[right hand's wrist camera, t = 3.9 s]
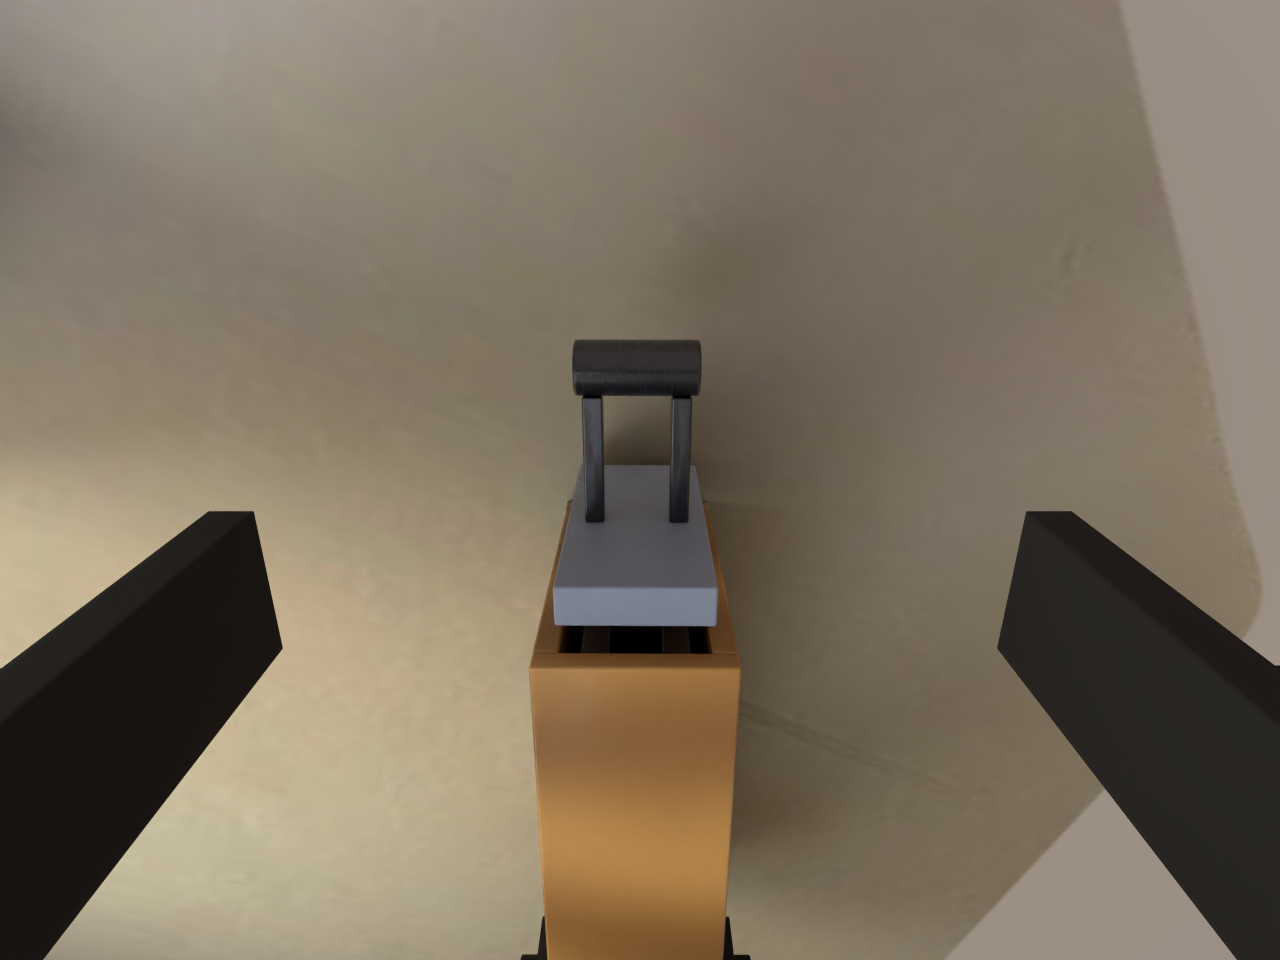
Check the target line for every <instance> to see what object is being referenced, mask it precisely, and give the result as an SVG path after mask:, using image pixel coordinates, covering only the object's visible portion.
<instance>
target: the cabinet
mask: <svg viewBox="0 0 1280 960" xmlns="http://www.w3.org/2000/svg"><path fill="white" fill-rule="evenodd" d="M571 505H572V502H571V501H568V503H567V507H566V515H565V519H564V523H563V527H562V531H561V536H560V540H559V544H558V548H557V553H556V557H555V561H554V565H553V569H552V574H551V578H550V582H549V586H548V590H547V595H546V599H545V603H544V607H543V611H542V616H541V620H540V624H539V628H538V633H537V637H536V641H535V645H534V649H533V655H532V658H531V662H530V667H529V676H530V692H531V707H532V723H533V739H534V755H535V770H536V786H537V802H538V818H539V833H540V849H541V865H542V880H543V896H544V912H545V928H546V943H547V959H548V960H723V951H724V936H725V920H726V904H727V889H728V873H729V857H730V842H731V826H732V811H733V795H734V779H735V764H736V748H737V732H738V717H739V701H740V685H741V665H740V660H739V656H738V649H737V644H736V639H735V634H734V629H733V624H732V619H731V614H730V609H729V604H728V600H727V595H726V590H725V585H724V580H723V575H722V570H721V565H720V560H719V555H718V550H717V545H716V540H715V535H714V530H713V525H712V520H711V515H710V507H709V502H705V503H703V508H704V514H705V519H706V525H707V530H708V535H709V541H710V546H711V552H712V557H713V563H714V568H715V573H716V579H717V584H718V608H717V624H716V626H688V628H689V638H690V648H691V654H626V653H580V652H581V645H582V637H583V630H584V626H562V625H555V623H554V603H553V585H554V581H555V576H556V572H557V567H558V563H559V559H560V554H561V550H562V545H563V541H564V536H565V532H566V528H567V523H568V519H569V514H570V510H571Z"/></svg>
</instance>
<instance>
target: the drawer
mask: <svg viewBox="0 0 1280 960" xmlns="http://www.w3.org/2000/svg"><path fill="white" fill-rule="evenodd" d="M572 373H573V388H574V392H575V395H578V396H583V397H582V423H583V460H584V465H581V466H580V470H579V474H578V479H577V483H576V488H575V492H574V497H573V501H572V505H571V510H570V514H569V519H568V523H567V528H566V532H565V536H564V541H563V545H562V550H561V554H560V559H559V563H558V567H557V572H556V576H555V581H554V585H553V603H554V623H555V625H562V626H584V630H583V637H582V645H581V652H580V653H626V654H691V648H690V638H689V628H688V626H716V624H717V608H718V584H717V579H716V573H715V568H714V563H713V557H712V552H711V546H710V541H709V535H708V530H707V525H706V519H705V514H704V508H703V503H702V498H701V492H700V487H699V481H698V476H697V471H696V466H694V465H690V456H691V422H692V397H691V396H698V395H699V393H700V387H701V344H700V341H699V340H575V342H574V345H573V357H572ZM603 396H671V419H670V465H604V404H603Z"/></svg>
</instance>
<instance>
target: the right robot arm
mask: <svg viewBox="0 0 1280 960" xmlns="http://www.w3.org/2000/svg"><path fill="white" fill-rule="evenodd" d="M282 649H283V647H282V642H281V638H280V633H279V628H278V624H277V619H276V614H275V609H274V605H273V600H272V595H271V591H270V586H269V581H268V577H267V572H266V567H265V562H264V558H263V553H262V548H261V544H260V539H259V534H258V529H257V525H256V520H255V515H254V511H208V512H207V513H206V514H204V515H203V516H202V517H200V518H199V519H198V520H197V521H195V522H194V523H193V524H191V525H190V526H189V527H187V528H186V529H185V530H183V531H182V532H181V533H179V534H178V535H177V536H175V537H174V538H173V539H171V540H170V541H169V542H168V543H166V544H165V545H164V546H162V547H161V548H160V549H158V550H157V551H156V552H154V553H153V554H152V555H150V556H149V557H148V558H146V559H145V560H144V561H142V562H141V563H140V564H138V565H137V566H136V567H135V568H133V569H132V570H131V571H129V572H128V573H127V574H125V575H124V576H123V577H121V578H120V579H119V580H117V581H116V582H115V583H113V584H112V585H111V586H109V587H108V588H107V589H105V590H104V591H103V592H102V593H100V594H99V595H98V596H96V597H95V598H94V599H92V600H91V601H90V602H88V603H87V604H86V605H84V606H83V607H82V608H80V609H79V610H78V611H76V612H75V613H74V614H72V615H71V616H70V617H69V618H67V619H66V620H65V621H63V622H62V623H61V624H59V625H58V626H57V627H55V628H54V629H53V630H51V631H50V632H49V633H47V634H46V635H45V636H43V637H42V638H41V639H40V640H38V641H37V642H36V643H34V644H33V645H32V646H30V647H29V648H28V649H26V650H25V651H24V652H22V653H21V654H20V655H18V656H17V657H16V658H14V659H13V660H12V661H10V662H9V663H8V664H7V665H5V666H4V667H3V668H1V669H0V960H43V959H44V958H45V957H46V955H47V954H48V953H49V951H50V950H51V949H52V947H53V946H54V945H55V944H56V942H57V941H58V940H59V938H60V937H61V936H62V934H63V933H64V932H65V931H66V929H67V928H68V927H69V925H70V924H71V923H72V921H73V920H74V919H75V918H76V916H77V915H78V914H79V912H80V911H81V910H82V908H83V907H84V906H85V905H86V903H87V902H88V901H89V899H90V898H91V897H92V895H93V894H94V893H95V892H96V890H97V889H98V888H99V886H100V885H101V884H102V882H103V881H104V880H105V879H106V877H107V876H108V875H109V873H110V872H111V871H112V870H113V868H114V867H115V866H116V864H117V863H118V862H119V860H120V859H121V858H122V857H123V855H124V854H125V853H126V851H127V850H128V849H129V847H130V846H131V845H132V844H133V842H134V841H135V840H136V838H137V837H138V836H139V834H140V833H141V832H142V831H143V829H144V828H145V827H146V825H147V824H148V823H149V821H150V820H151V819H152V818H153V816H154V815H155V814H156V812H157V811H158V810H159V808H160V807H161V806H162V805H163V803H164V802H165V801H166V799H167V798H168V797H169V795H170V794H171V793H172V792H173V790H174V789H175V788H176V786H177V785H178V784H179V782H180V781H181V780H182V779H183V777H184V776H185V775H186V773H187V772H188V771H189V770H190V768H191V767H192V766H193V764H194V763H195V762H196V760H197V759H198V758H199V757H200V755H201V754H202V753H203V751H204V750H205V749H206V747H207V746H208V745H209V744H210V742H211V741H212V740H213V738H214V737H215V736H216V734H217V733H218V732H219V731H220V729H221V728H222V727H223V725H224V724H225V723H226V721H227V720H228V719H229V718H230V716H231V715H232V714H233V712H234V711H235V710H236V708H237V707H238V706H239V705H240V703H241V702H242V701H243V699H244V698H245V697H246V695H247V694H248V693H249V692H250V690H251V689H252V688H253V686H254V685H255V684H256V682H257V681H258V680H259V679H260V677H261V676H262V675H263V673H264V672H265V671H266V670H267V668H268V667H269V666H270V664H271V663H272V662H273V660H274V659H275V658H276V657H277V655H278V654H279V653H280V651H281V650H282ZM997 649H998V650H999V651H1000V653H1001V654H1002V655H1003V657H1004V658H1005V659H1006V660H1007V662H1008V663H1009V664H1010V666H1011V667H1012V668H1013V670H1014V671H1015V672H1016V673H1017V675H1018V676H1019V677H1020V679H1021V680H1022V681H1023V682H1024V684H1025V685H1026V686H1027V688H1028V689H1029V690H1030V692H1031V693H1032V694H1033V695H1034V697H1035V698H1036V699H1037V701H1038V702H1039V703H1040V705H1041V706H1042V707H1043V708H1044V710H1045V711H1046V712H1047V714H1048V715H1049V716H1050V718H1051V719H1052V720H1053V721H1054V723H1055V724H1056V725H1057V727H1058V728H1059V729H1060V731H1061V732H1062V733H1063V734H1064V736H1065V737H1066V738H1067V740H1068V741H1069V742H1070V744H1071V745H1072V746H1073V747H1074V749H1075V750H1076V751H1077V753H1078V754H1079V755H1080V757H1081V758H1082V759H1083V760H1084V762H1085V763H1086V764H1087V766H1088V767H1089V768H1090V770H1091V771H1092V772H1093V773H1094V775H1095V776H1096V777H1097V779H1098V780H1099V781H1100V782H1101V784H1102V785H1103V786H1104V788H1105V789H1106V790H1107V792H1108V793H1109V794H1110V795H1111V797H1112V798H1113V799H1114V801H1115V802H1116V803H1117V805H1118V806H1119V807H1120V808H1121V810H1122V811H1123V812H1124V814H1125V815H1126V816H1127V818H1128V819H1129V820H1130V821H1131V823H1132V824H1133V825H1134V827H1135V828H1136V829H1137V831H1138V832H1139V833H1140V834H1141V836H1142V837H1143V838H1144V840H1145V841H1146V842H1147V844H1148V845H1149V846H1150V847H1151V849H1152V850H1153V851H1154V853H1155V854H1156V855H1157V856H1158V858H1159V859H1160V860H1161V862H1162V863H1163V864H1164V866H1165V867H1166V868H1167V869H1168V871H1169V872H1170V873H1171V875H1172V876H1173V877H1174V879H1175V880H1176V881H1177V882H1178V884H1179V885H1180V886H1181V888H1182V889H1183V890H1184V891H1185V893H1186V894H1187V895H1188V897H1189V898H1190V899H1191V901H1192V902H1193V903H1194V905H1195V906H1196V907H1197V908H1198V910H1199V911H1200V912H1201V914H1202V915H1203V916H1204V918H1205V919H1206V920H1207V921H1208V923H1209V924H1210V925H1211V927H1212V928H1213V929H1214V931H1215V932H1216V933H1217V934H1218V936H1219V937H1220V938H1221V940H1222V941H1223V942H1224V943H1225V945H1226V946H1227V947H1228V949H1229V950H1230V951H1231V953H1232V954H1233V955H1234V957H1235V958H1236V959H1237V960H1280V666H1275V665H1273V664H1272V663H1271V662H1270V661H1268V660H1267V659H1266V658H1264V657H1263V656H1262V655H1260V654H1259V653H1258V652H1256V651H1255V650H1254V649H1252V648H1251V647H1250V646H1248V645H1247V644H1246V643H1244V642H1243V641H1242V640H1240V639H1239V638H1238V637H1237V636H1235V635H1234V634H1233V633H1231V632H1230V631H1229V630H1227V629H1226V628H1225V627H1223V626H1222V625H1221V624H1219V623H1218V622H1217V621H1215V620H1214V619H1213V618H1211V617H1210V616H1209V615H1208V614H1206V613H1205V612H1204V611H1202V610H1201V609H1200V608H1198V607H1197V606H1196V605H1194V604H1193V603H1192V602H1190V601H1189V600H1188V599H1186V598H1185V597H1184V596H1182V595H1181V594H1180V593H1178V592H1177V591H1176V590H1175V589H1173V588H1172V587H1171V586H1169V585H1168V584H1167V583H1165V582H1164V581H1163V580H1161V579H1160V578H1159V577H1157V576H1156V575H1155V574H1153V573H1152V572H1151V571H1149V570H1148V569H1147V568H1145V567H1144V566H1143V565H1142V564H1140V563H1139V562H1138V561H1136V560H1135V559H1134V558H1132V557H1131V556H1130V555H1128V554H1127V553H1126V552H1124V551H1123V550H1122V549H1120V548H1119V547H1118V546H1116V545H1115V544H1114V543H1112V542H1111V541H1110V540H1109V539H1107V538H1106V537H1105V536H1103V535H1102V534H1101V533H1099V532H1098V531H1097V530H1095V529H1094V528H1093V527H1091V526H1090V525H1089V524H1087V523H1086V522H1085V521H1083V520H1082V519H1081V518H1080V517H1078V516H1077V515H1076V514H1074V513H1073V512H1072V511H1026V515H1025V520H1024V525H1023V529H1022V534H1021V539H1020V544H1019V548H1018V553H1017V558H1016V562H1015V567H1014V572H1013V577H1012V581H1011V586H1010V591H1009V595H1008V600H1007V605H1006V609H1005V614H1004V619H1003V624H1002V628H1001V633H1000V638H999V642H998V647H997Z"/></svg>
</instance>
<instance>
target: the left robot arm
mask: <svg viewBox="0 0 1280 960" xmlns="http://www.w3.org/2000/svg"><path fill="white" fill-rule="evenodd" d="M521 960H548V959H547V943H546V928H545V916H543V919H542V926H541V933H540V941H539V949H538V955H529V954H523V955H522V957H521ZM723 960H751V959H750V956H749V955H734V954H733V945H732V937H731V929H730V920H729V917H726V920H725V936H724V951H723Z"/></svg>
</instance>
